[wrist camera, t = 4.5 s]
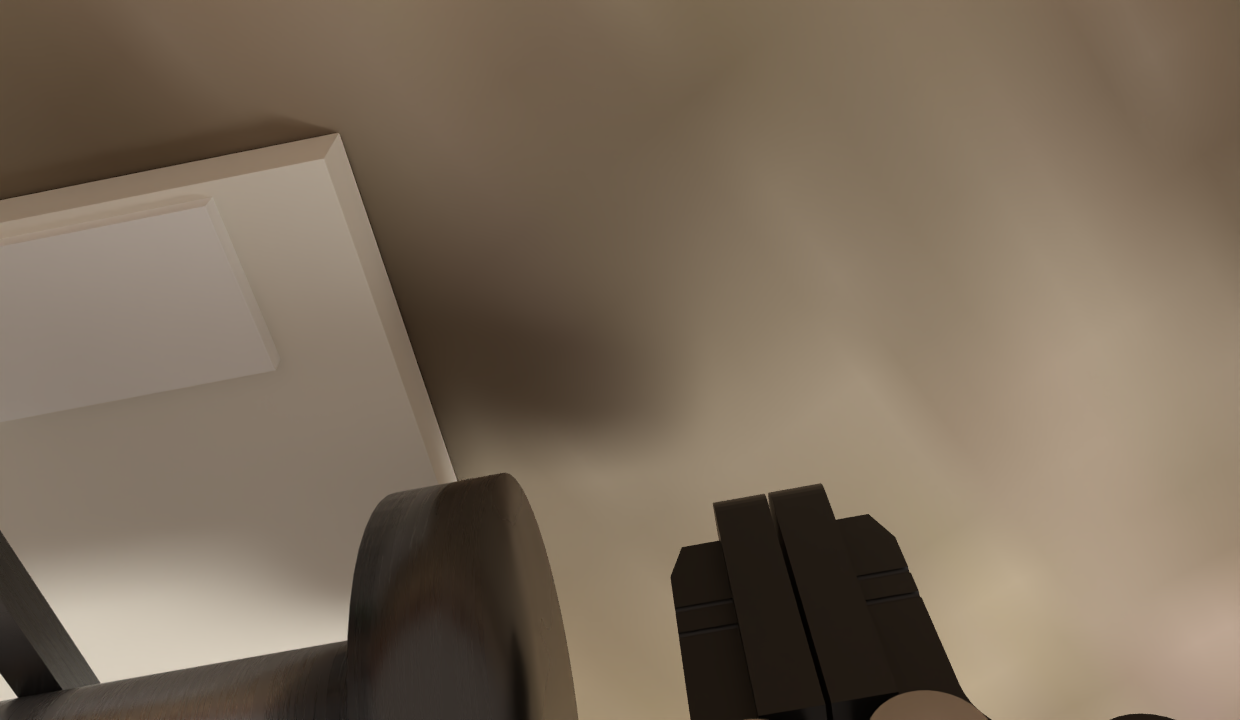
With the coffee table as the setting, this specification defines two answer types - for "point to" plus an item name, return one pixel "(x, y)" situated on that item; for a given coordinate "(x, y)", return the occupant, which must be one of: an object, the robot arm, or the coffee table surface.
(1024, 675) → the coffee table surface
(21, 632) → the plunger
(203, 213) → the gauge body
